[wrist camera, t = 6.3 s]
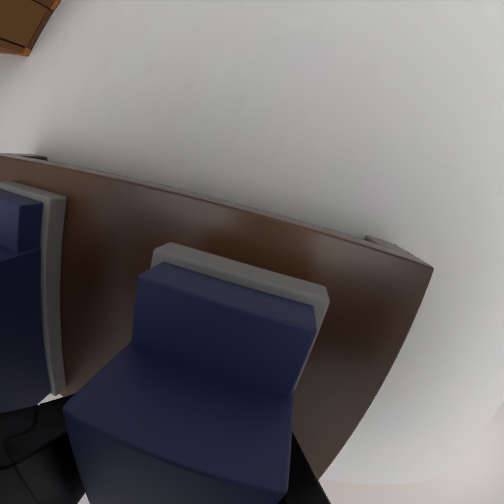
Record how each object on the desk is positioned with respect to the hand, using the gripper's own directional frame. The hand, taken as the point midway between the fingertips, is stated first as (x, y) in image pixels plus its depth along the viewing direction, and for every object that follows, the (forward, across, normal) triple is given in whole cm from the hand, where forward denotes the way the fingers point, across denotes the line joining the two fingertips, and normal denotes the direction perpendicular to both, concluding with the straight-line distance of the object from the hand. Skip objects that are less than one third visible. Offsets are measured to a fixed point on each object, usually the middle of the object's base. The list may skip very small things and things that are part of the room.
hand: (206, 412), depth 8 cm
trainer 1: (+2, +9, 0) cm, 9 cm away
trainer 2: (0, 0, 0) cm, 0 cm away
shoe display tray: (+6, +4, 0) cm, 8 cm away
